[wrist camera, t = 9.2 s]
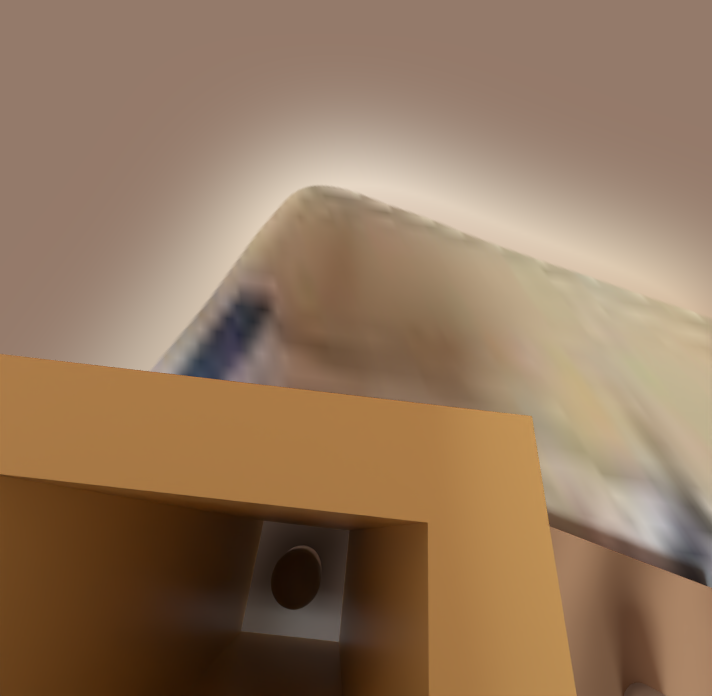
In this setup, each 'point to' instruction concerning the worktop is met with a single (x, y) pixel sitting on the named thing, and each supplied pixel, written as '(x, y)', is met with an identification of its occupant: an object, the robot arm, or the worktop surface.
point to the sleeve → (242, 535)
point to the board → (578, 595)
